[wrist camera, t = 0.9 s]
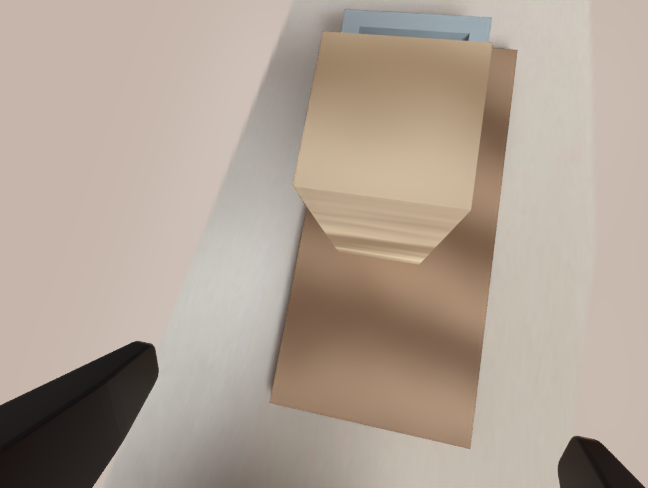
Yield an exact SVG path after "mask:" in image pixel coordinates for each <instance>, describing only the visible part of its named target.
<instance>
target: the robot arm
mask: <svg viewBox="0 0 648 488" xmlns="http://www.w3.org/2000/svg"><path fill="white" fill-rule="evenodd" d="M158 373H159V368H158V362H157V356H156V350H155V347H154V346H153V344H150V343H145V342H141V341H135V342H132V343H130V344H128V345H126V346H124V347H122V348H120V349H117V350H115V351H113V352H111V353H109V354H107V355H105V356H103V357H101V358H99V359H97V360H94V361H92V362H90V363H88V364H86V365H84V366H82V367H80V368H78V369H76V370H73V371H71V372H69V373H67V374H65V375H63V376H61V377H59V378H57V379H55V380H52V381H50V382H48V383H46V384H44V385H42V386H40V387H38V388H36V389H33V390H32V391H30V392H27V393H25V394H23V395H21V396H19V397H17V398H15V399H13V400H10V401H9V402H6V403H4V404H2V405H0V488H92V487H93V486H94V484H95V483H96V481H97V480H98V478H99V477H100V475H101V474H102V472H103V471H104V469H105V468H106V466H107V465H108V463H109V462H110V460H111V459H112V457H113V456H114V455H115V453H116V451H117V450H118V448H119V447H120V445H121V444H122V442H123V440H124V439H125V437H126V435H127V434H128V432H129V430H130V428H131V426H132V424H133V423H134V421H135V419H136V417H137V415H138V413H139V412H140V410H141V408H142V406H143V404H144V402H145V401H146V399H147V397H148V395H149V393H150V391H151V390H152V388H153V386H154V384H155V382H156V380H157V377H158ZM558 477H559V483H560V488H645V487H644V486H643V485H642V484H641V483H640V482H639V481H638V480H637V479H636V478H635V477H634V476H633V475H632V474H631V473H630V472H629V471H628V470H627V469H626V468H625V466H624V465H623V464H621V462H620V461H619V460H618V459H617V458H615V456H614V455H613V454H612V453H611V452H610V451H608V449H607V448H606V447H605V446H604V445H603V444H602V443H600V442H599V441H597V440H595V439H591V438H586V437H581V436H574V437H572V438H571V440H570V442H569V443H568V445H567V447H566V449H565V451H564V453H563V455H562V457H561V458H560V461H559V464H558Z"/></svg>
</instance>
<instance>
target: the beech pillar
mask: <svg viewBox="0 0 648 488" xmlns="http://www.w3.org/2000/svg"><path fill="white" fill-rule="evenodd" d="M492 44H493V43H491V42H476V41H461V40H446V39H431V38H416V37H401V36H387V35H372V34H357V33H342V32H327V31H323V34H322V39H321V44H320V49H319V54H318V59H317V64H316V69H315V75H314V80H313V85H312V90H311V95H310V100H309V105H308V110H307V115H306V120H305V125H304V130H303V136H302V141H301V146H300V151H299V156H298V161H297V166H296V171H295V176H294V181H293V187H294V189H295V190H296V192H297V193H298V195H299V196H300V198H301V199H302V200H303V202H304V203H305V205H306V206H307V208H308V209H309V210H310V212H311V213H312V215H313V216H314V218H315V219H316V221H317V222H318V223H319V225H320V226H321V228H322V229H323V231H324V232H325V234H326V235H327V236H328V238H329V239H330V241H331V242H332V244H333V245H334V247H335V248H336V249H337V251H338V252H343V253H349V254H355V255H361V256H368V257H374V258H380V259H386V260H393V261H399V262H405V263H411V264H418V265H419V264H420V263H421V262H422V261H423V260H424V259H425V258H426V257H427V256H428V255H429V254H430V253H431V252H432V251H433V249H434V248H435V247H436V246H437V245H438V244H439V243H440V242H441V241H442V240H443V239H444V238H445V237H446V236H447V235H448V234H449V233H450V232H451V231H452V230H453V229H454V227H455V226H456V225H457V224H458V223H459V222H460V221H461V220H462V219H463V218H464V217H465V216H466V215H467V214H468V213H469V212H470V211H471V207H472V199H473V191H474V183H475V176H476V168H477V160H478V152H479V145H480V137H481V129H482V121H483V113H484V106H485V98H486V90H487V82H488V75H489V67H490V59H491V51H492Z"/></svg>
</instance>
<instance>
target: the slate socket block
mask: <svg viewBox="0 0 648 488" xmlns="http://www.w3.org/2000/svg"><path fill="white" fill-rule="evenodd" d="M491 20H492V18H491V17H474V16H456V15H439V14H422V13H404V12H387V11H369V10H352V9H345V12H344V17H343V23H342V28H341V32H342V33H357V34H372V35H387V36H401V37H416V38H431V39H446V40H461V41H476V42H489V35H490V28H491Z"/></svg>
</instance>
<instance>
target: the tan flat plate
mask: <svg viewBox="0 0 648 488" xmlns="http://www.w3.org/2000/svg"><path fill="white" fill-rule="evenodd" d="M516 58H517V50H511V49H496V48H492V51H491V59H490V67H489V75H488V82H487V90H486V98H485V106H484V113H483V121H482V129H481V137H480V145H479V152H478V160H477V168H476V176H475V183H474V191H473V199H472V207H471V211H470V212H469V213H468V214H467V215H466V216H465V217H464V218H463V219H462V220H461V221H460V222H459V223H458V224H457V225H456V226H455V227H454V229H453V230H452V231H451V232H450V233H449V234H448V235H447V236H446V237H445V238H444V239H443V240H442V241H441V242H440V243H439V244H438V245H437V246H436V247H435V248H434V249H433V251H432V252H431V253H430V254H429V255H428V256H427V257H426V258H425V259H424V260H423V261H422V262H421V263H420V264H419V265H418V264H411V263H405V262H399V261H393V260H386V259H380V258H374V257H368V256H361V255H355V254H349V253H343V252H338V251H337V249H336V248H335V247H334V245H333V244H332V242H331V241H330V239H329V238H328V236H327V235H326V234H325V232H324V231H323V229H322V228H321V226H320V225H319V223H318V222H317V221H316V219H315V218H314V216H313V215H312V213H311V212H310V210H309V209H308V208H307V210H306V215H305V220H304V225H303V231H302V236H301V241H300V246H299V252H298V257H297V262H296V268H295V273H294V278H293V283H292V289H291V294H290V299H289V304H288V310H287V315H286V320H285V326H284V331H283V336H282V341H281V347H280V352H279V357H278V362H277V368H276V373H275V378H274V384H273V389H272V394H271V399H270V403H273V404H277V405H281V406H286V407H290V408H294V409H299V410H303V411H307V412H312V413H316V414H320V415H325V416H329V417H333V418H338V419H342V420H346V421H351V422H355V423H359V424H364V425H368V426H372V427H377V428H381V429H385V430H390V431H394V432H399V433H403V434H407V435H412V436H416V437H420V438H425V439H429V440H433V441H438V442H442V443H446V444H451V445H455V446H459V447H464V448H468V449H470V447H471V438H472V430H473V421H474V413H475V404H476V396H477V387H478V379H479V371H480V362H481V354H482V345H483V337H484V328H485V320H486V312H487V303H488V295H489V286H490V278H491V269H492V261H493V252H494V244H495V236H496V227H497V219H498V210H499V202H500V193H501V185H502V176H503V168H504V160H505V151H506V143H507V134H508V126H509V117H510V109H511V100H512V92H513V84H514V75H515V67H516Z"/></svg>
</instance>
